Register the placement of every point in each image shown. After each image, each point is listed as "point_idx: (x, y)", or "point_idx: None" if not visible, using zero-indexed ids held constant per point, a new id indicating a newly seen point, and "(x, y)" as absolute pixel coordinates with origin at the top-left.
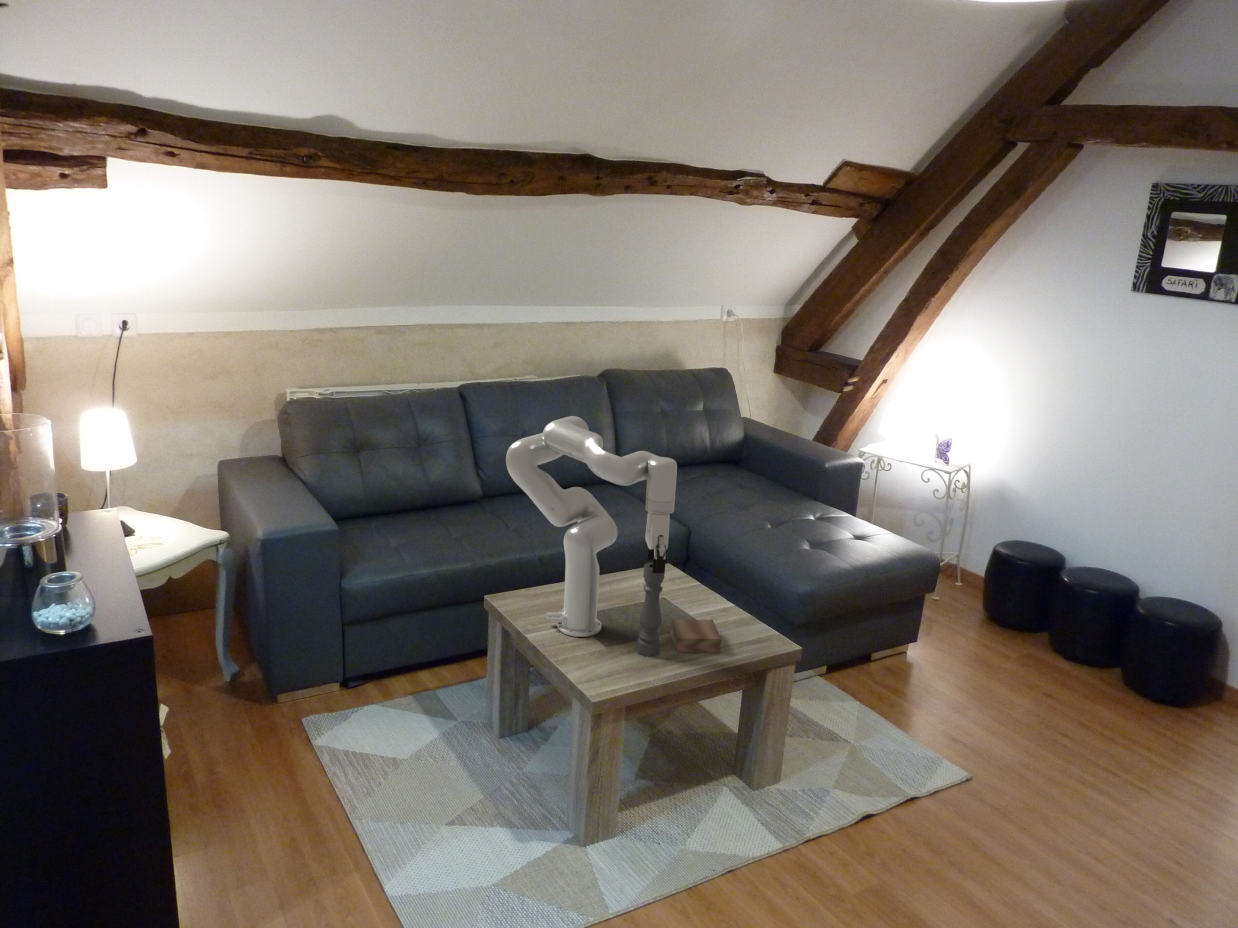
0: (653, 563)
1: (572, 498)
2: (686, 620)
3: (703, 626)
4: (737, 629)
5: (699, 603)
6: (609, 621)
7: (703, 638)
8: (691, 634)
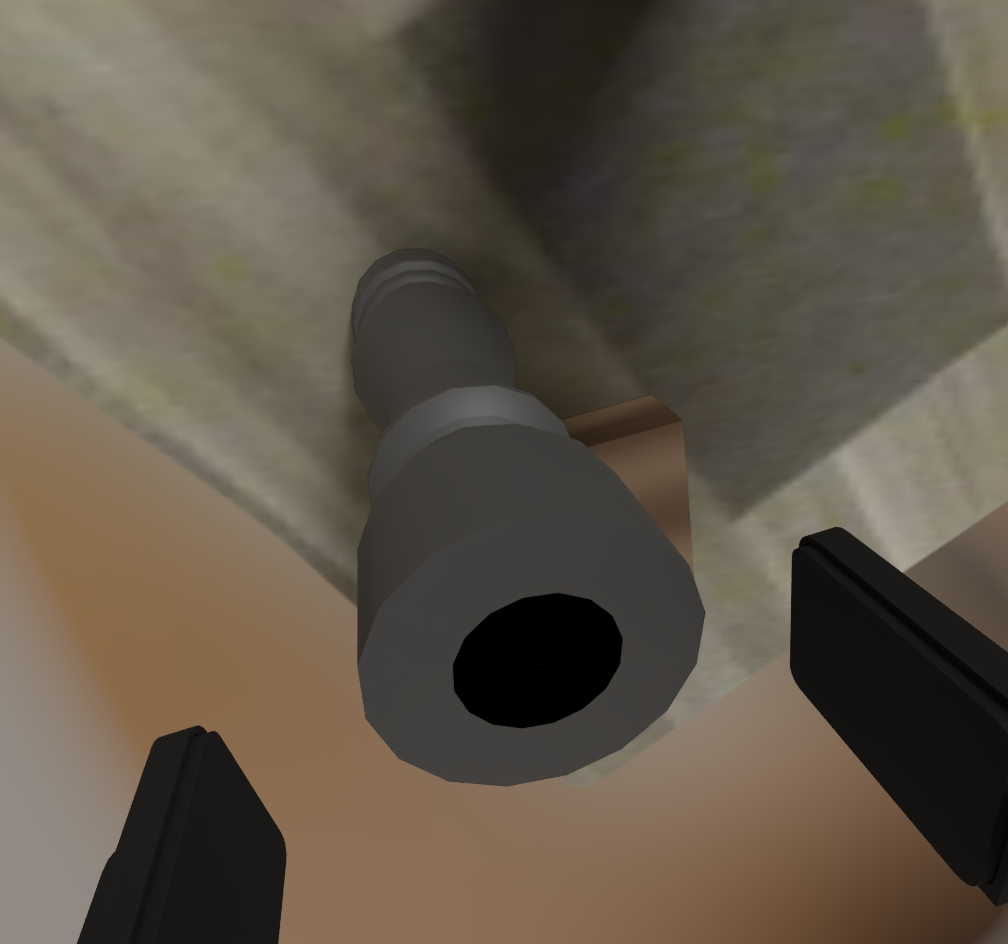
0: (89, 937)
1: None
2: (676, 490)
3: None
4: (705, 633)
5: (935, 476)
6: (749, 23)
7: None
8: None
